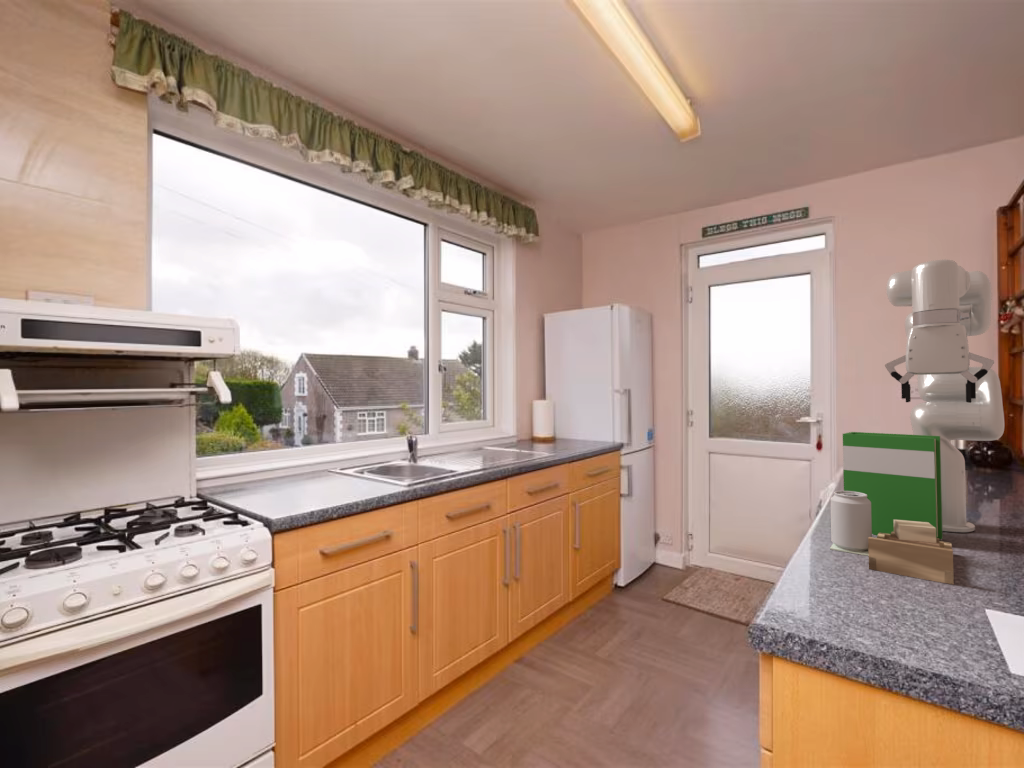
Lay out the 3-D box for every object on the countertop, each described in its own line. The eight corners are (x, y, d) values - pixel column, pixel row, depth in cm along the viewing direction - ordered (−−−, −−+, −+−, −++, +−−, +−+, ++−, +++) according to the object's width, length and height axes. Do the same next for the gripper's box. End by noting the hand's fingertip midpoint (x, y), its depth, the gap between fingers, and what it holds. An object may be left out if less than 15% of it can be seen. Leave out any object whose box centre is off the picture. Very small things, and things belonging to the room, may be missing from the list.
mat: (835, 541, 114) (835, 540, 114) (872, 547, 110) (872, 546, 110) (829, 549, 109) (829, 547, 109) (868, 556, 104) (868, 554, 104)
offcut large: (892, 549, 109) (891, 531, 109) (939, 557, 104) (939, 538, 104) (889, 556, 104) (889, 537, 105) (939, 565, 99) (939, 545, 99)
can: (874, 546, 109) (873, 492, 110) (869, 555, 104) (868, 497, 104) (834, 539, 115) (833, 487, 115) (827, 547, 109) (826, 493, 109)
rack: (879, 542, 113) (878, 516, 113) (951, 554, 105) (951, 525, 105) (868, 569, 97) (868, 538, 97) (953, 584, 89) (952, 551, 89)
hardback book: (942, 539, 115) (940, 436, 116) (936, 545, 110) (933, 438, 111) (853, 524, 129) (851, 431, 129) (844, 529, 124) (842, 433, 124)
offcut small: (893, 533, 108) (893, 519, 108) (928, 536, 105) (928, 522, 105) (899, 539, 103) (899, 525, 103) (936, 543, 101) (935, 528, 101)
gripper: (991, 318, 101) (993, 402, 101) (885, 326, 112) (887, 401, 112) (994, 314, 95) (996, 403, 95) (882, 323, 107) (884, 402, 106)
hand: (937, 402), depth 104 cm, fingers open, 9 cm apart
